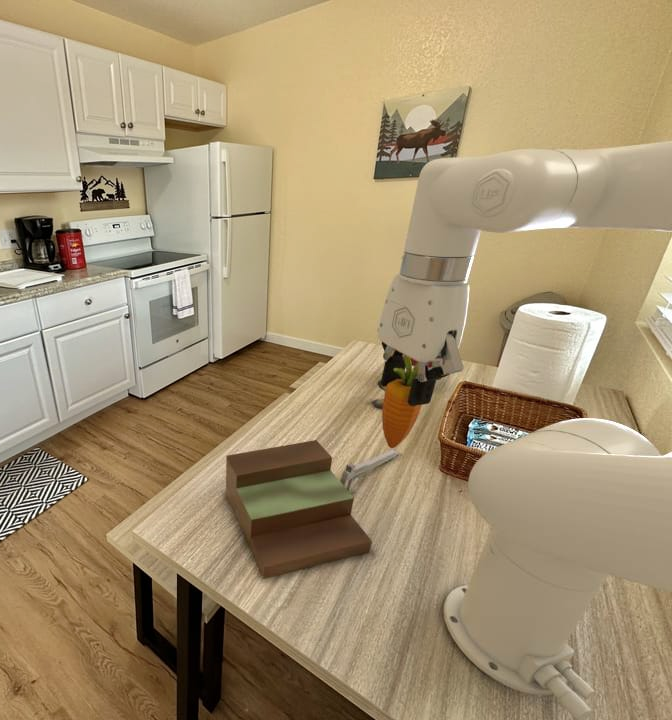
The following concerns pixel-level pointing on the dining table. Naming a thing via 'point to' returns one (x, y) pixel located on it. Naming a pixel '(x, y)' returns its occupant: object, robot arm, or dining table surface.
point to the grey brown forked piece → (379, 401)
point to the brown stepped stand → (292, 508)
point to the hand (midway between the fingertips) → (404, 392)
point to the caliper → (364, 468)
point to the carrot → (399, 406)
